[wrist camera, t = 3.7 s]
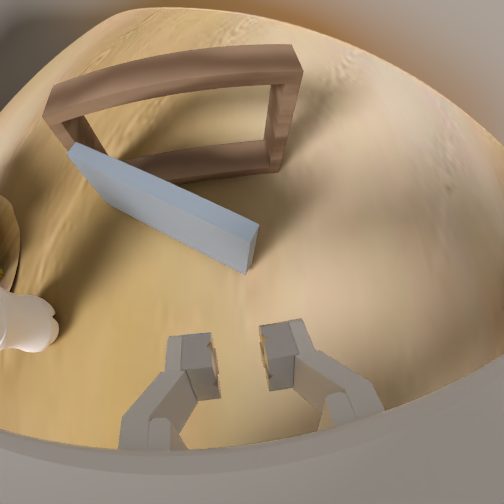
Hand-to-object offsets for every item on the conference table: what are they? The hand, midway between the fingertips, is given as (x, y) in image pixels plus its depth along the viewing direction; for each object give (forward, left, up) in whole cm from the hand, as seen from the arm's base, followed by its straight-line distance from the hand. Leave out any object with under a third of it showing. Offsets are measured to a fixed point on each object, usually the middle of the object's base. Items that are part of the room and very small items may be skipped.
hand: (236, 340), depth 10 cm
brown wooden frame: (+22, +4, -23) cm, 32 cm away
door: (+13, +6, -22) cm, 27 cm away
